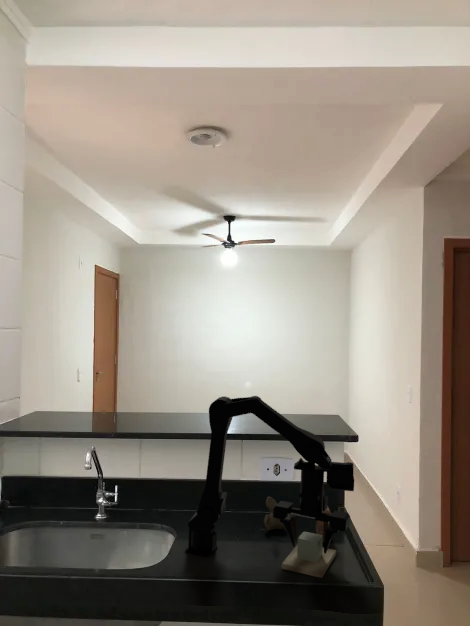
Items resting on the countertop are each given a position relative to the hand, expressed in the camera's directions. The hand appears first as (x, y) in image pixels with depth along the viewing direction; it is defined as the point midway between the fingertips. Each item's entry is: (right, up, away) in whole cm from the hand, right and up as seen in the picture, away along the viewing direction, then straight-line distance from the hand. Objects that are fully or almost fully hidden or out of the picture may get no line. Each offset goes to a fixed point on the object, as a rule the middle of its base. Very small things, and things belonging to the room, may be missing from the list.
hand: (309, 549), depth 135 cm
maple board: (0, -3, 0) cm, 3 cm away
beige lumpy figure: (-7, -3, +21) cm, 22 cm away
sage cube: (0, -2, 0) cm, 2 cm away
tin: (+6, -4, +16) cm, 17 cm away
